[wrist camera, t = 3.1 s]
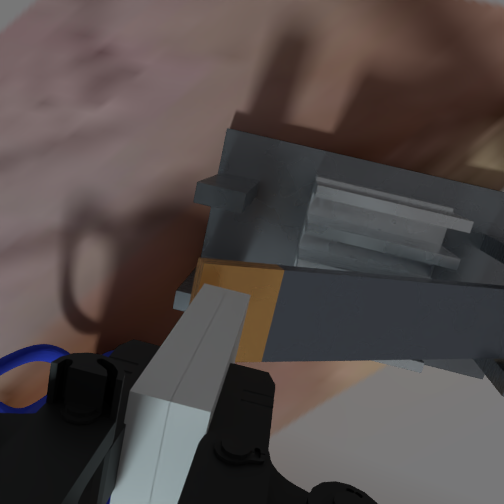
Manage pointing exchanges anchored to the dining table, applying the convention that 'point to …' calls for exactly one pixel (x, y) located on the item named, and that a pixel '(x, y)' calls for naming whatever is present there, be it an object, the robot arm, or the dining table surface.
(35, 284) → the dining table surface
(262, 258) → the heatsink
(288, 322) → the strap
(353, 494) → the robot arm
